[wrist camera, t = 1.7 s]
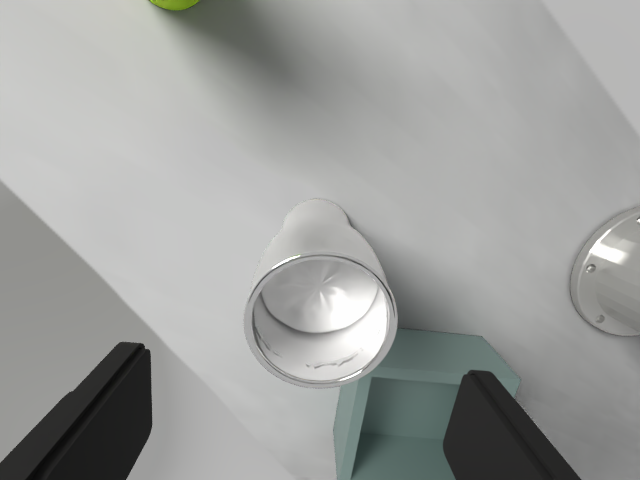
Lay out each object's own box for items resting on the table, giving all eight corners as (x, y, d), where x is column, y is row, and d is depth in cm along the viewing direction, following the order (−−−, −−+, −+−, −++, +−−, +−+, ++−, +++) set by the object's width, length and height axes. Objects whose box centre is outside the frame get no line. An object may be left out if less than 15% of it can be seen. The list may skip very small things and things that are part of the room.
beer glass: (277, 190, 27) (237, 241, 12) (359, 195, 27) (414, 251, 12) (275, 268, 29) (238, 390, 14) (352, 272, 29) (392, 396, 14)
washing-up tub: (482, 336, 31) (521, 379, 25) (450, 439, 35) (478, 497, 29) (351, 323, 30) (361, 364, 25) (333, 430, 34) (337, 487, 28)
